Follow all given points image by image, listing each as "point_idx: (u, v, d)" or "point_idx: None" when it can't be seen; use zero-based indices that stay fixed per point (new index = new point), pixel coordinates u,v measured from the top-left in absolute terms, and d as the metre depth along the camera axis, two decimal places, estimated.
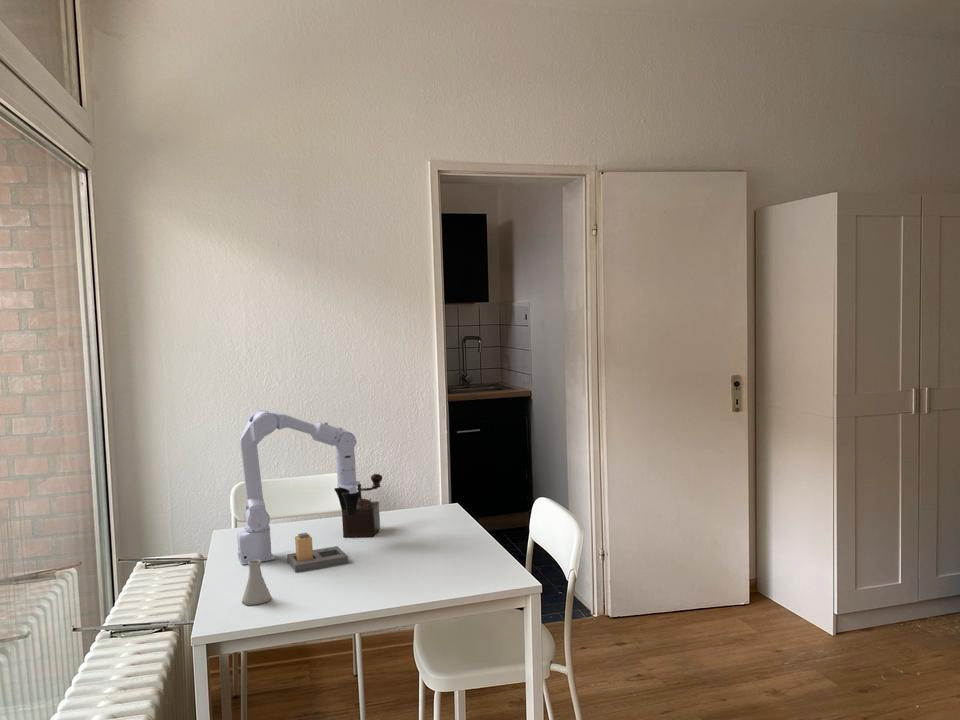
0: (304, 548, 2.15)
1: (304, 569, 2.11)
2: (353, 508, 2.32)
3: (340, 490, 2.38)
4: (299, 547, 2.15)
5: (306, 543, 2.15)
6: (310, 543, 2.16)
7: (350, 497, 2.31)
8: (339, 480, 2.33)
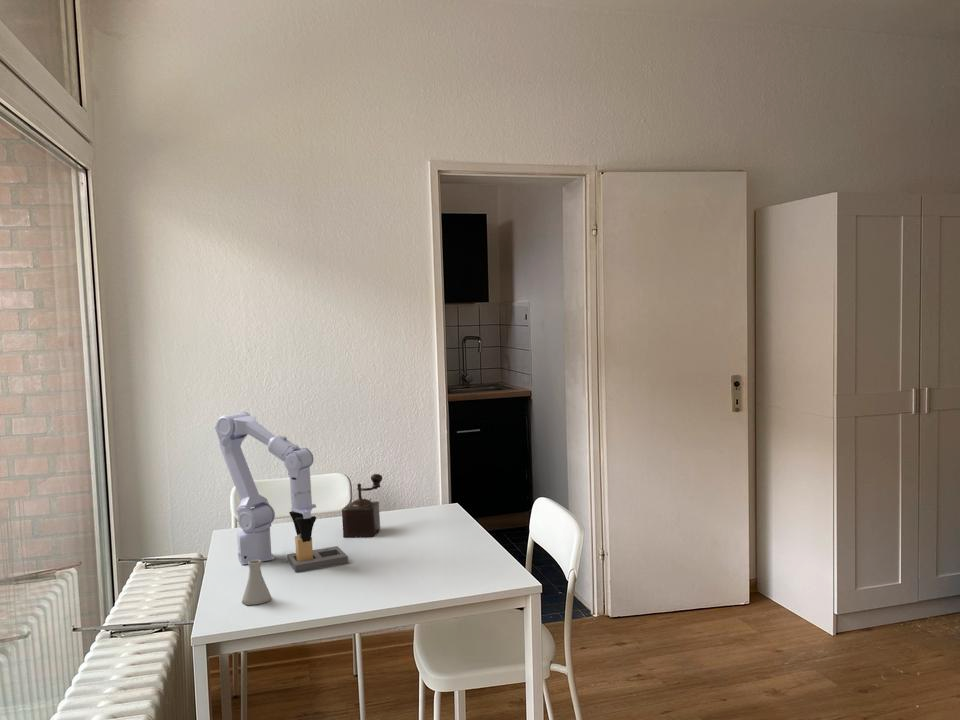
0: (304, 548, 2.15)
1: (304, 569, 2.11)
2: (308, 534, 2.13)
3: (295, 514, 2.20)
4: (299, 547, 2.15)
5: (306, 543, 2.15)
6: (310, 543, 2.16)
7: (304, 522, 2.13)
8: (293, 504, 2.14)
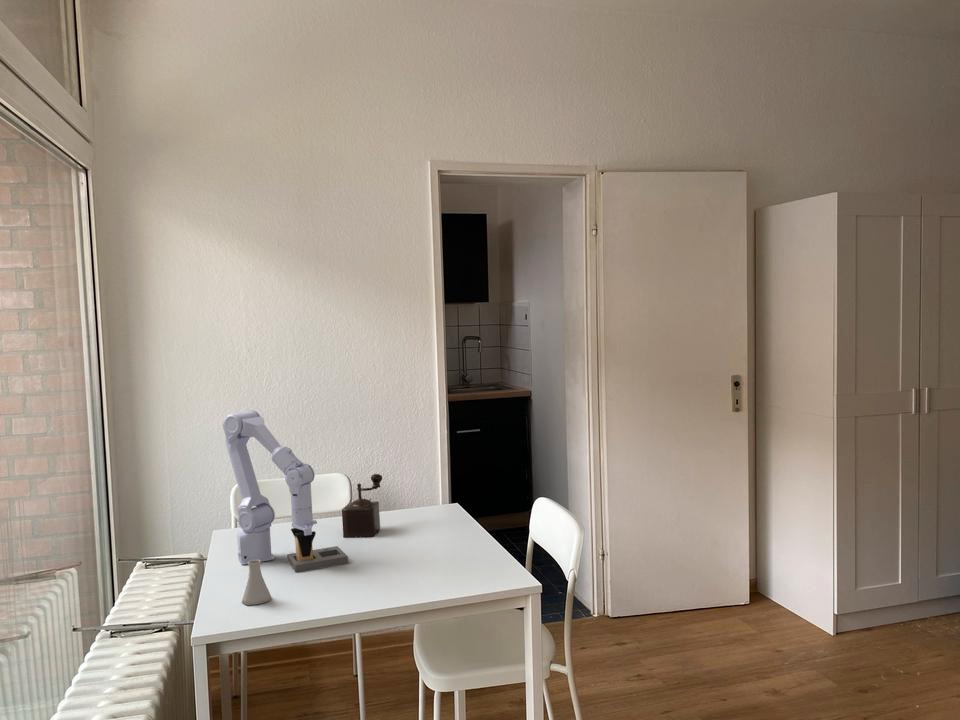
0: None
1: (304, 569, 2.11)
2: (307, 549, 2.15)
3: (297, 531, 2.18)
4: (299, 547, 2.15)
5: None
6: None
7: (304, 537, 2.14)
8: (294, 520, 2.15)
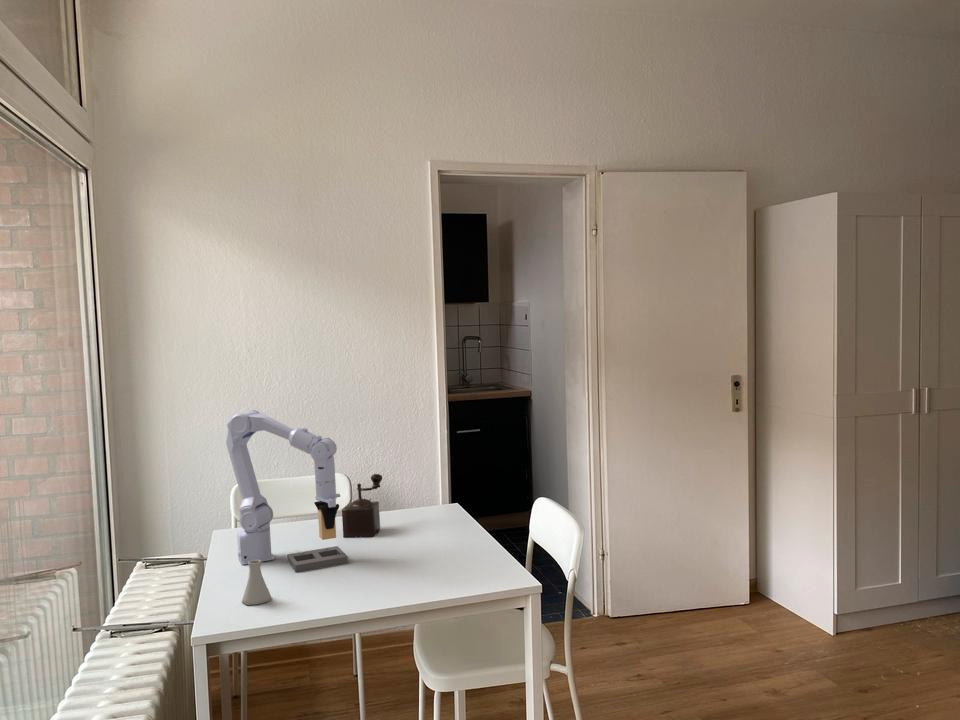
0: None
1: (304, 569, 2.11)
2: (331, 522, 2.18)
3: (320, 504, 2.21)
4: (322, 520, 2.17)
5: None
6: None
7: (328, 510, 2.17)
8: (317, 493, 2.17)
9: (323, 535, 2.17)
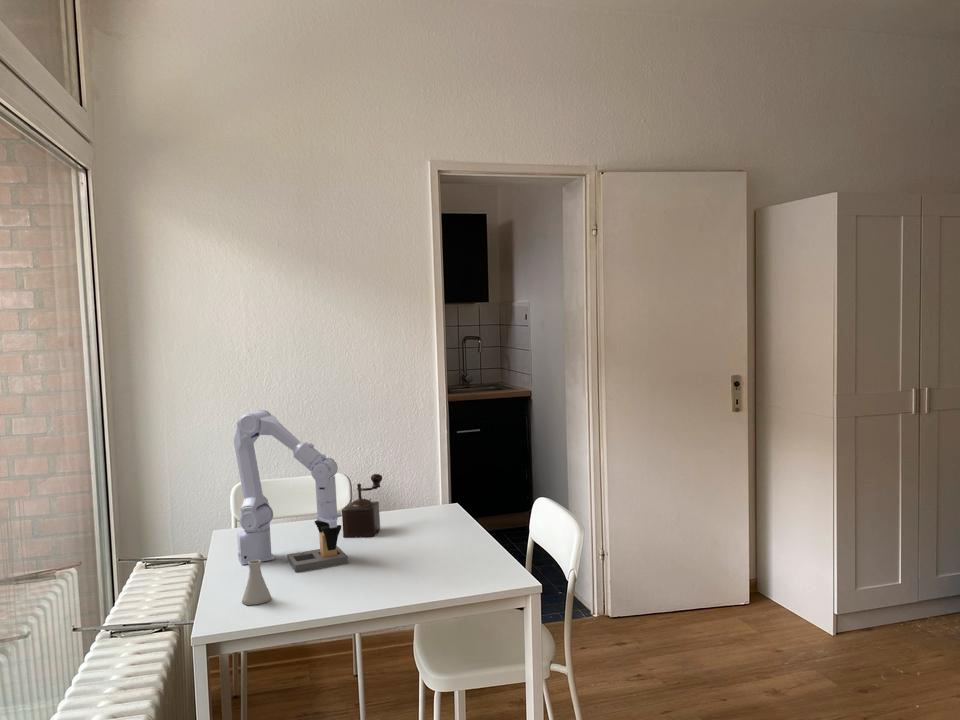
0: None
1: (304, 569, 2.11)
2: (333, 543, 2.17)
3: (320, 523, 2.22)
4: (323, 543, 2.18)
5: None
6: None
7: (330, 531, 2.16)
8: (319, 513, 2.18)
9: None
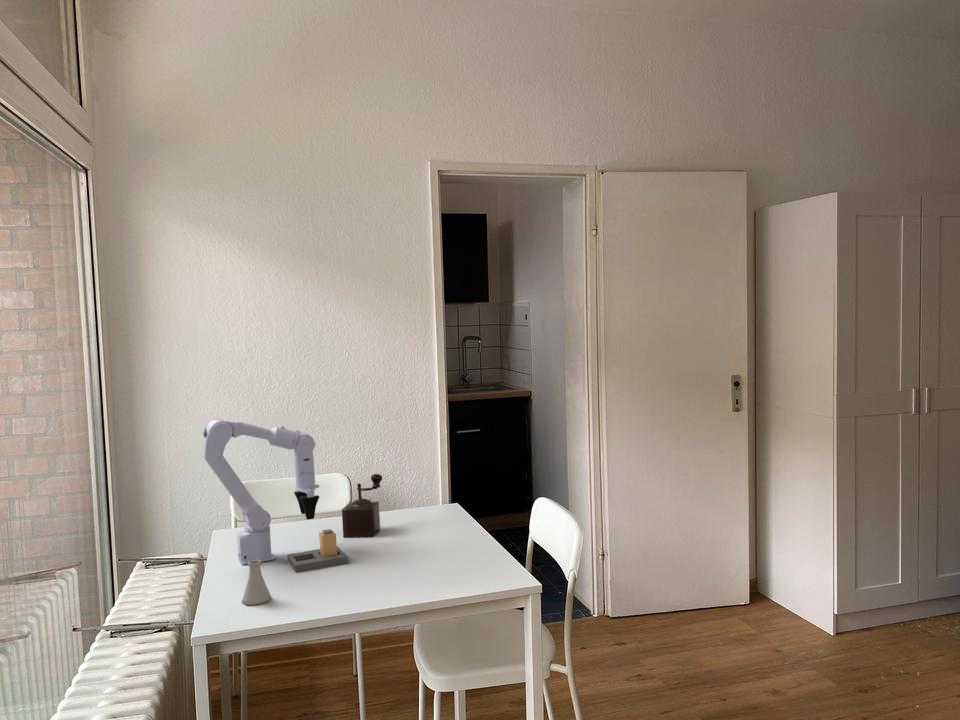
0: (328, 544, 2.18)
1: (304, 569, 2.11)
2: (311, 512, 2.28)
3: (299, 494, 2.34)
4: (323, 543, 2.18)
5: (330, 539, 2.18)
6: (334, 540, 2.19)
7: (308, 501, 2.27)
8: (297, 484, 2.29)
9: None
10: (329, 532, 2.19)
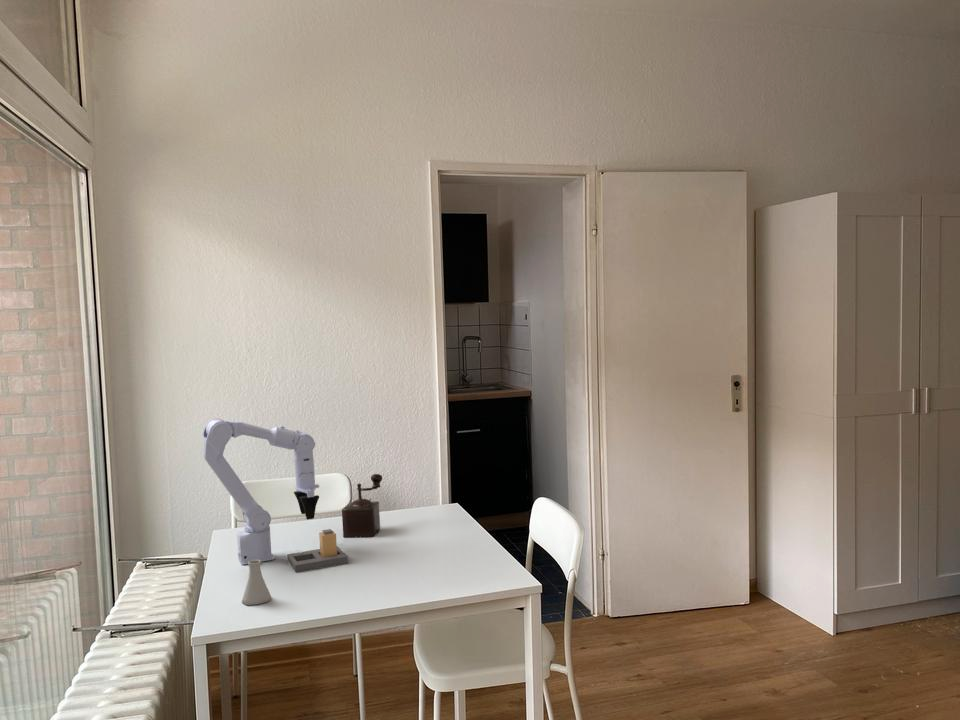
0: (328, 544, 2.18)
1: (304, 569, 2.11)
2: (311, 512, 2.28)
3: (299, 494, 2.34)
4: (323, 543, 2.18)
5: (330, 539, 2.18)
6: (334, 540, 2.19)
7: (308, 501, 2.27)
8: (297, 484, 2.29)
9: None
10: (329, 532, 2.19)
